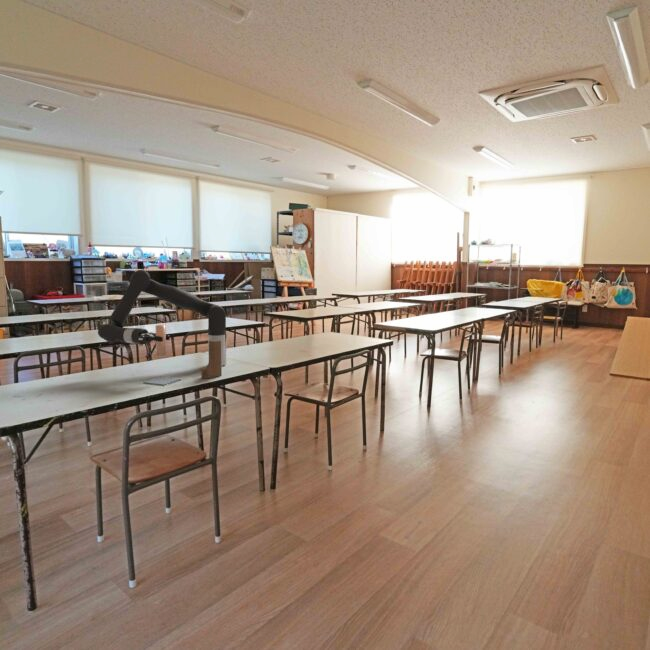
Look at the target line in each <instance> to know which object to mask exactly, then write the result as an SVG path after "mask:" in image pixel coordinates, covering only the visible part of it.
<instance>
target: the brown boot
mask: <svg viewBox="0 0 650 650" xmlns="http://www.w3.org/2000/svg"><path fill="white" fill-rule="evenodd" d="M222 372H223V371H222V366H221V341H220V340H209V355H208V363H207V365H206V366H205V367H202V368H201V378H203V379H206V380H208V378H209V379H212V378H218V377H222ZM217 376H218V377H217Z"/></svg>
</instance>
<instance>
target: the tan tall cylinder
mask: <svg viewBox="0 0 650 650" xmlns="http://www.w3.org/2000/svg"><path fill="white" fill-rule="evenodd" d="M166 331H167V329H166V324H156V325H155V333H156V336H160V337H163V341H162V342H160V341H155V348H156V349H155V350H156V352H155V353H156V357H157V356H158V357H159V356H160V357H162V356H163V357H164V356H167V340H166V335H167V333H166Z"/></svg>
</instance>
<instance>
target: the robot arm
mask: <svg viewBox="0 0 650 650" xmlns="http://www.w3.org/2000/svg"><path fill="white" fill-rule="evenodd" d="M142 292H143V293H145V294H149V295H151V296H154V297H156V298H159V299H161V300H163V301H164V302H167V303H169V304H171V305H174V306H176V307H178V308H181V309H184V310H187V311H192V312H195V313H198V314H200V315H202V316H203V317H206V318H207V319H208V322H207V323H208V325H207V326H208V327H207V328H208V329H207V344H208V346H207V348H208V350H207V351H208V355H207V356H209V340H220V341H221V367H224V366H223V365H225V366H226V365H227V347H226V327H227V319H226V318H227V313H226V310H225V308H223V306H221V305H219V304H214V303H212V302H208V301H205V300H203V299H201V298H199V297H198V296H197V295H194V294H193V293H191V292H188V291H187V290H184V289H182V288H179V287H177V286H174V285H168V284H165V283H164V284H163V283H160V282H158V281H156V280H154V279H151V276H150V273H149V272H148V271H146V270H144V269H138V270H135V271H134V272H133V273H132V274H131V277H130V282H129V285H128V286H127V289H126V291H125V293H124V294H123V295H122V297H121V298H120V301H118V303H117V305H116V307H115V308H114V310H113V312H112V313H111V314H110V317H109V320H110V322H111V323H112V324H108V323H107V324H102V325H101V326H99V328H98V329H97V334H98V337H100V338H101V339H103V340H104V341H106V342H107V343H110V344H114V343H117V342H120V343H128V344H133V345H134V344H135V345H146V344H147V343H152V342H155V343H156V341H160V342H162V341H163V337H160V336H156V332H154V331H153V332H149V331H148V329H146V328H141V327H124V326H125V322H126V320H127V319H128V317H129V316H130V314H131V311H132V309H133V308H134V306H135V303H136V301H137V299H138V297H139V296H140V295H141V293H142ZM170 339H171V336H170V335H169V334H166V341H169V340H170Z"/></svg>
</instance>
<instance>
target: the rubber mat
mask: <svg viewBox="0 0 650 650" xmlns="http://www.w3.org/2000/svg"><path fill="white" fill-rule="evenodd" d="M178 380H179V381H181V380H182V378H179V377H168V376H158V377H155V378H151V379H148V380H145V381H143V384H145V383H146V385H147V384H148V385H156V386H162V385H164V386H165V385H166V386H167V384H168V385H170V383H171V384H173V383H172V382H174V383H176V382H175V381H177V382H179V381H178Z"/></svg>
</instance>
